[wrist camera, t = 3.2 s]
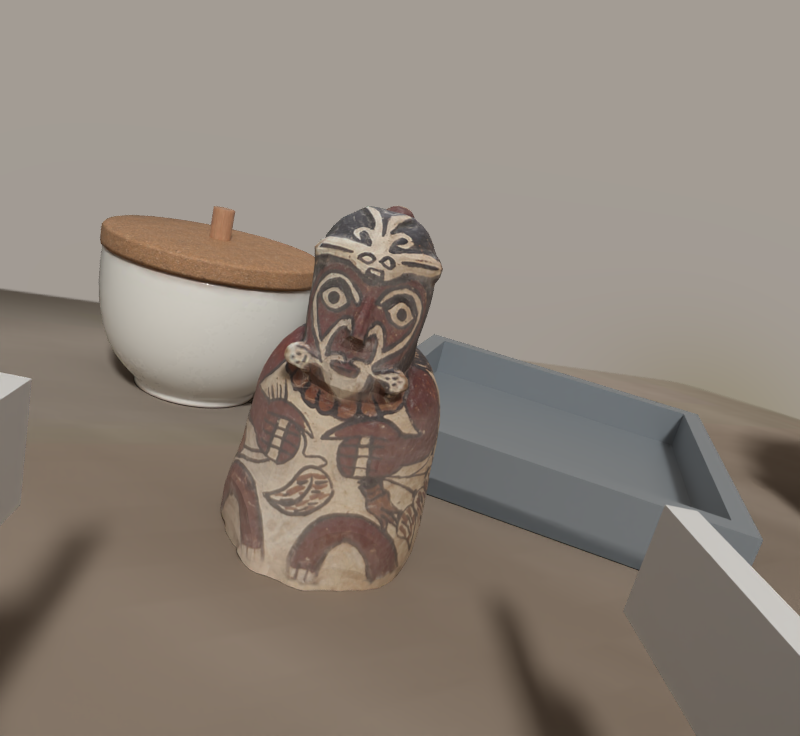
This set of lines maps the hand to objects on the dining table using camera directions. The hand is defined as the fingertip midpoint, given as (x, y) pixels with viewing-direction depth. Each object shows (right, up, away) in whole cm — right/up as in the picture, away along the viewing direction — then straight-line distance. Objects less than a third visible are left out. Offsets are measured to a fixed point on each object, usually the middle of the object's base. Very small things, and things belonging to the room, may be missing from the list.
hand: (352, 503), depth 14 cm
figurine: (-2, -3, +11) cm, 12 cm away
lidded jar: (-10, +2, +22) cm, 24 cm away
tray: (+9, -2, +24) cm, 25 cm away
